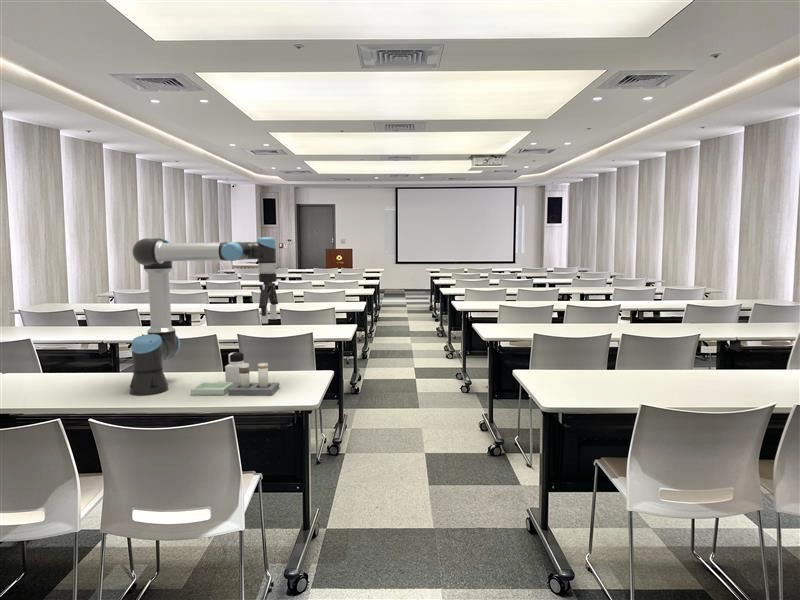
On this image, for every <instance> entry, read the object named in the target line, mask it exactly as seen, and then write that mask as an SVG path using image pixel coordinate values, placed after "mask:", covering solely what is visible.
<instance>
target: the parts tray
mask: <svg viewBox="0 0 800 600" xmlns="http://www.w3.org/2000/svg"><path fill="white" fill-rule="evenodd" d="M234 385H235V383H231V382H226V381H225V382H223V381H222V382H217V381H216V382H205V381H203V382H200V383H198V384H197V385H194V387H191V389H189V392H190V394H189V395H190V396H219V397H220V396H222V397H223V396H225V395H226V394H228V389H230V388H231V387H233V386H234Z"/></svg>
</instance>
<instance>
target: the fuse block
mask: <svg viewBox="0 0 800 600" xmlns="http://www.w3.org/2000/svg"><path fill="white" fill-rule="evenodd" d="M268 385H269V388H259V382H250V388H240V383H234V386H233V387H231V388H230V389H228V393H227V394H228V396H232V397H233V396H236V397H237V396H242V397H243V396H248V397H249V396H252V397H253V396H255V397H256V396H257V397H261V396H263V397H270V396H273V395H274V394H275V393H276V392H277V391H278V390H279V389H280V382H268Z"/></svg>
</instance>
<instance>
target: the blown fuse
mask: <svg viewBox="0 0 800 600" xmlns="http://www.w3.org/2000/svg"><path fill="white" fill-rule="evenodd" d="M239 373H240V388H250V383H251V381H250V377H251V376H250V363H249V362H243V363H240V364H239Z"/></svg>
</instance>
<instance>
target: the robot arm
mask: <svg viewBox="0 0 800 600" xmlns="http://www.w3.org/2000/svg"><path fill="white" fill-rule="evenodd" d="M276 246H277V245H276V239H275V238H274V237H269V236H268V237H267V236H266V237H257V240H256V241H251V242H250V241H249V242H248V241H228V242H225V241H224V242H221V241H220V242H219V241H218V242H216V241H215V242H170V241H169V240H167V239H165V238H156V237H155V238H142V239H139V240H138V241H136V242H135V243H134V244H133V246H132V256H133V258H134V260H135V261H136V262H137V263H138V264H140V265H141V266H142V265H143V271H145V272H146V273H147V280H148V299H149V316H150V328H149V329H148V330H147V331H146V333H147V334H143V335H138V336H136V337H134V338H133V339H132V341H131V347H130V348H131V356H132V357H131V359H132V372H133V374H132V379H131V382H130V384H129V385H130V386H129V393H130V394H131V395H134V396H146V395H147V396H149V395H155V394H160V393H165V392H167V391H168V390H169V383H168V380H167V378H166V376H165V373H164V366H163V362H164V361H167V360H169V359H172V358H173V357H175V355H177V353H179V351H180V348H181V341H180V338H179V336H177V333H176V328H174V326H172V311H171V307H172V306H171V292H170V291H171V290H170V272H171V271H172V270H173V262H191V261H193V262H195V261H196V262H197V261H198V262H200V261H201V262H202V261H203V262H204V261H208V262H209V261H211V262H212V261H216V262H218V261H226V262H227V261H229V262H236V261H243V260H257V261H258V273H259V274H258V282H260V283H262V284H260V294H259V303H258V309H260V317H261V318H260V320H261V321H260V323H261V324H268V323H269V318H270V320H277V319H278V316H277V314H278V313H277V305H279V302H278V296H277V289H276V282H277V280H278V279H277V278H278V277H277V273H276V272H277V268H278V265H277V247H276ZM268 303H270V304H269V309H268ZM269 316H270V317H269Z"/></svg>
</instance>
